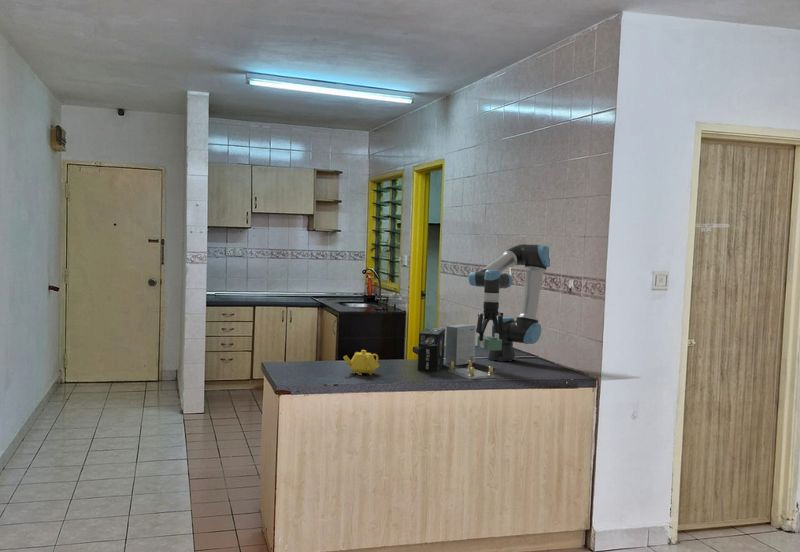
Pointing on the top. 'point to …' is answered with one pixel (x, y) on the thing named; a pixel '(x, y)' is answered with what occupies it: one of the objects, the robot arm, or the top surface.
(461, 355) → the hard drive box
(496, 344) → the green rectangular block
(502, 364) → the top surface
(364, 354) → the teapot
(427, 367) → the box
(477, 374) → the chassis
